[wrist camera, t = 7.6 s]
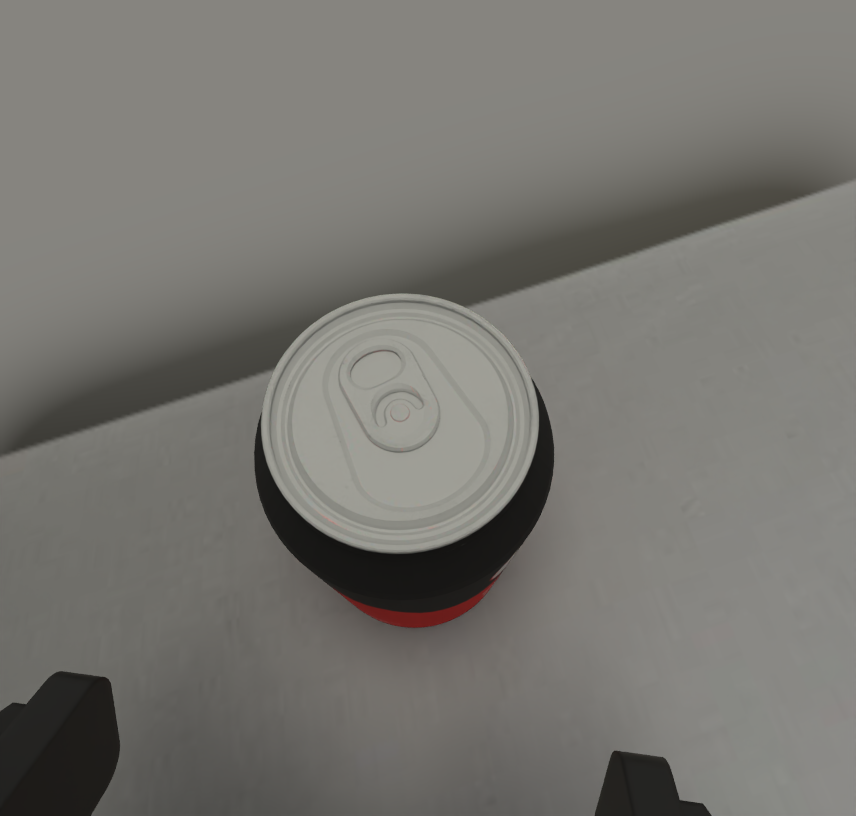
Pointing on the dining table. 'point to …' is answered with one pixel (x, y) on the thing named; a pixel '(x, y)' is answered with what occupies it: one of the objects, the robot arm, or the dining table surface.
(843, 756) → the dining table surface
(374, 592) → the beverage can
